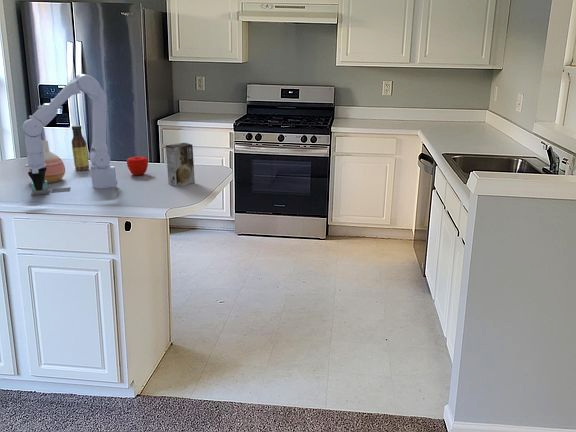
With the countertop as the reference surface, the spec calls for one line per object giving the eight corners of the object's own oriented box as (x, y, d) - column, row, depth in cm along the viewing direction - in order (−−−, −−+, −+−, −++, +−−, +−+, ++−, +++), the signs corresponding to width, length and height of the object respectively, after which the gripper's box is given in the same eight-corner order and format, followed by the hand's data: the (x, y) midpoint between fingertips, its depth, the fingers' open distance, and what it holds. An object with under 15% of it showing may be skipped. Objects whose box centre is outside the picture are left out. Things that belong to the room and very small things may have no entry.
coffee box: (186, 180, 237) (184, 142, 232) (195, 183, 232) (193, 144, 228) (167, 184, 231) (165, 144, 226) (176, 186, 226) (174, 146, 222)
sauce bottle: (92, 169, 258) (87, 125, 253) (81, 171, 253) (76, 127, 248) (83, 167, 262) (78, 124, 256) (71, 169, 257) (66, 126, 251)
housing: (48, 190, 214) (46, 179, 213) (47, 194, 210) (45, 182, 209) (34, 191, 213) (32, 180, 212) (32, 195, 208) (31, 183, 207)
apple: (133, 178, 241) (132, 160, 239) (124, 174, 247) (122, 157, 245) (152, 175, 247) (151, 157, 244) (143, 171, 253) (141, 154, 251)
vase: (73, 181, 236) (68, 139, 231) (52, 188, 223) (46, 144, 218) (45, 178, 239) (40, 137, 234) (23, 186, 227) (17, 142, 222)
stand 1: (51, 193, 216) (50, 190, 215) (49, 197, 210) (49, 194, 209) (32, 194, 214) (32, 191, 213) (30, 199, 208) (30, 195, 207)
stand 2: (71, 190, 220) (70, 187, 220) (70, 194, 214) (69, 191, 214) (53, 191, 219) (52, 188, 218) (51, 195, 213) (51, 192, 212)
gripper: (25, 149, 212) (30, 184, 216) (20, 156, 199) (25, 193, 203) (46, 148, 214) (50, 183, 218) (42, 155, 201) (46, 192, 205)
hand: (39, 188), depth 211 cm, fingers closed on housing, 5 cm apart
